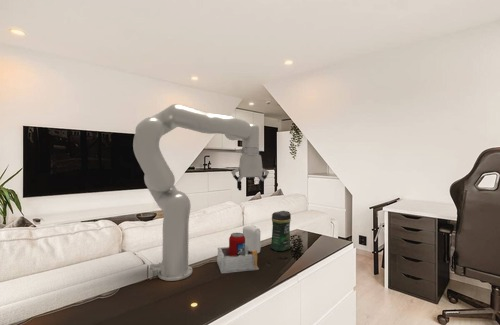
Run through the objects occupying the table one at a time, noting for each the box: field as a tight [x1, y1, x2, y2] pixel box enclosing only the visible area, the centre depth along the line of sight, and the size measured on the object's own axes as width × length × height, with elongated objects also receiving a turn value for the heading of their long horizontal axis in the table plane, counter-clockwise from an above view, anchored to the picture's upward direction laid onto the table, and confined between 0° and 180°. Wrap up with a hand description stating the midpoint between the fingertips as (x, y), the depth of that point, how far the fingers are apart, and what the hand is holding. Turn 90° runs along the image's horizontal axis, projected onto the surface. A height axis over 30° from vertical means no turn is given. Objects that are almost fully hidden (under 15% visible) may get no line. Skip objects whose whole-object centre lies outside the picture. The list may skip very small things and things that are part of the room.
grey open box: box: [216, 246, 260, 274], centre depth 107 cm, size 15×14×7 cm
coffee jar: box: [270, 210, 292, 252], centre depth 127 cm, size 10×8×19 cm
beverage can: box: [228, 232, 245, 256], centre depth 107 cm, size 7×7×12 cm
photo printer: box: [242, 224, 261, 254], centre depth 125 cm, size 10×4×12 cm, turn 39°
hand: (250, 189), depth 116 cm, fingers open, 9 cm apart
